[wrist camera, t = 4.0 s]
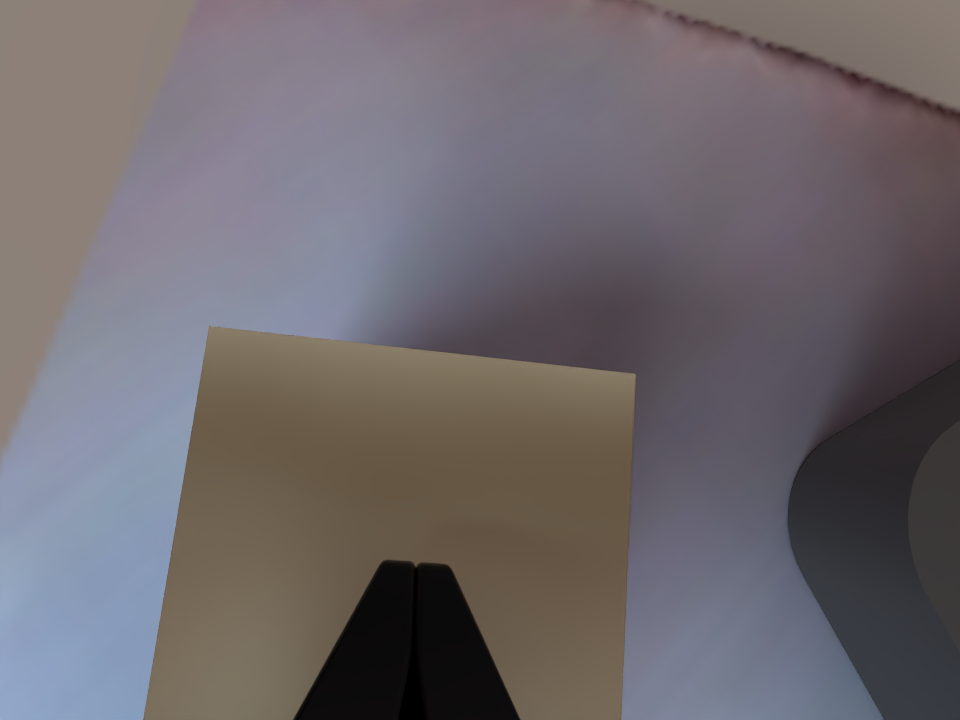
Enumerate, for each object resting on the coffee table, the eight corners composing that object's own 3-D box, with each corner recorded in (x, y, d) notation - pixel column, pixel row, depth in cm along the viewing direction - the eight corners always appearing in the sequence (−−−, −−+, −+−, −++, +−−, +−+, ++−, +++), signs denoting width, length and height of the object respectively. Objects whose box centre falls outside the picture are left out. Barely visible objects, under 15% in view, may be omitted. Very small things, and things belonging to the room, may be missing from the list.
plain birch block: (494, 655, 19) (617, 832, 9) (264, 641, 18) (126, 817, 8) (511, 432, 20) (635, 373, 10) (296, 410, 19) (209, 325, 9)
